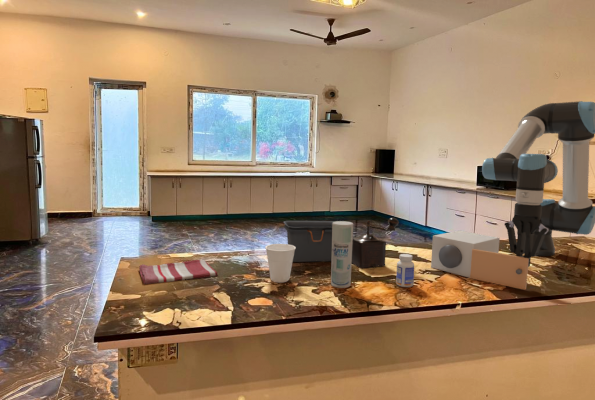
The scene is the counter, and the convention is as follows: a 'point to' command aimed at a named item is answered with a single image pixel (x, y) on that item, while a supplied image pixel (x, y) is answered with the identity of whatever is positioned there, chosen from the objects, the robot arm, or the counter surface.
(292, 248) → the cup
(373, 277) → the counter surface
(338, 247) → the spray can
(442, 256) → the block
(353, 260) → the dark manual coffee grinder
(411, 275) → the pill bottle
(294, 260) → the storage bin
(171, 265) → the dish towel
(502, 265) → the side door
